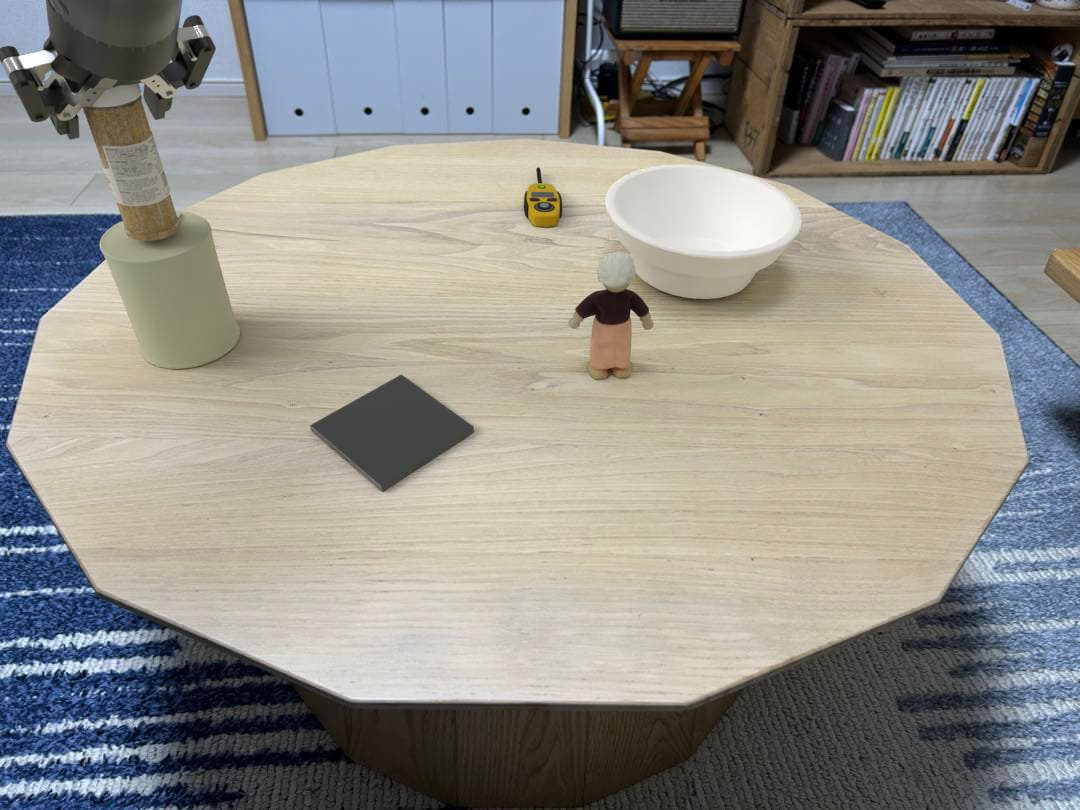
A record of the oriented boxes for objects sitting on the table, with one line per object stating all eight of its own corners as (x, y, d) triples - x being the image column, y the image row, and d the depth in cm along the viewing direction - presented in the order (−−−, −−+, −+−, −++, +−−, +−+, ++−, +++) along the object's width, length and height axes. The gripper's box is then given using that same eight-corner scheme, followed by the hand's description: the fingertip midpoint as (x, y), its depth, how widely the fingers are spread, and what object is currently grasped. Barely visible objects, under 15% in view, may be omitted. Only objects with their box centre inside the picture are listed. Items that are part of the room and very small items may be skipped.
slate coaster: (382, 492, 61) (381, 487, 61) (310, 430, 66) (309, 425, 66) (474, 431, 67) (474, 426, 66) (401, 378, 72) (401, 373, 71)
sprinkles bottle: (132, 219, 68) (77, 61, 59) (186, 216, 69) (139, 60, 60) (120, 245, 65) (60, 82, 56) (177, 242, 66) (126, 80, 57)
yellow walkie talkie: (525, 213, 93) (520, 160, 104) (525, 227, 94) (520, 173, 105) (565, 213, 93) (556, 160, 104) (564, 228, 94) (555, 173, 105)
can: (254, 316, 78) (226, 209, 70) (217, 373, 71) (181, 261, 63) (167, 309, 79) (129, 201, 71) (121, 364, 72) (74, 252, 64)
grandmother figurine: (634, 352, 76) (651, 238, 68) (648, 376, 73) (668, 261, 65) (560, 363, 74) (568, 248, 66) (572, 388, 72) (582, 271, 63)
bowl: (640, 210, 98) (648, 149, 93) (803, 255, 91) (822, 191, 86) (567, 288, 84) (571, 220, 79) (753, 347, 77) (773, 278, 72)
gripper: (199, -81, 51) (177, 58, 65) (-48, -57, 44) (-12, 94, 58) (253, 25, 51) (219, 139, 66) (18, 66, 44) (38, 185, 59)
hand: (111, 117), depth 62 cm, fingers open, 6 cm apart
